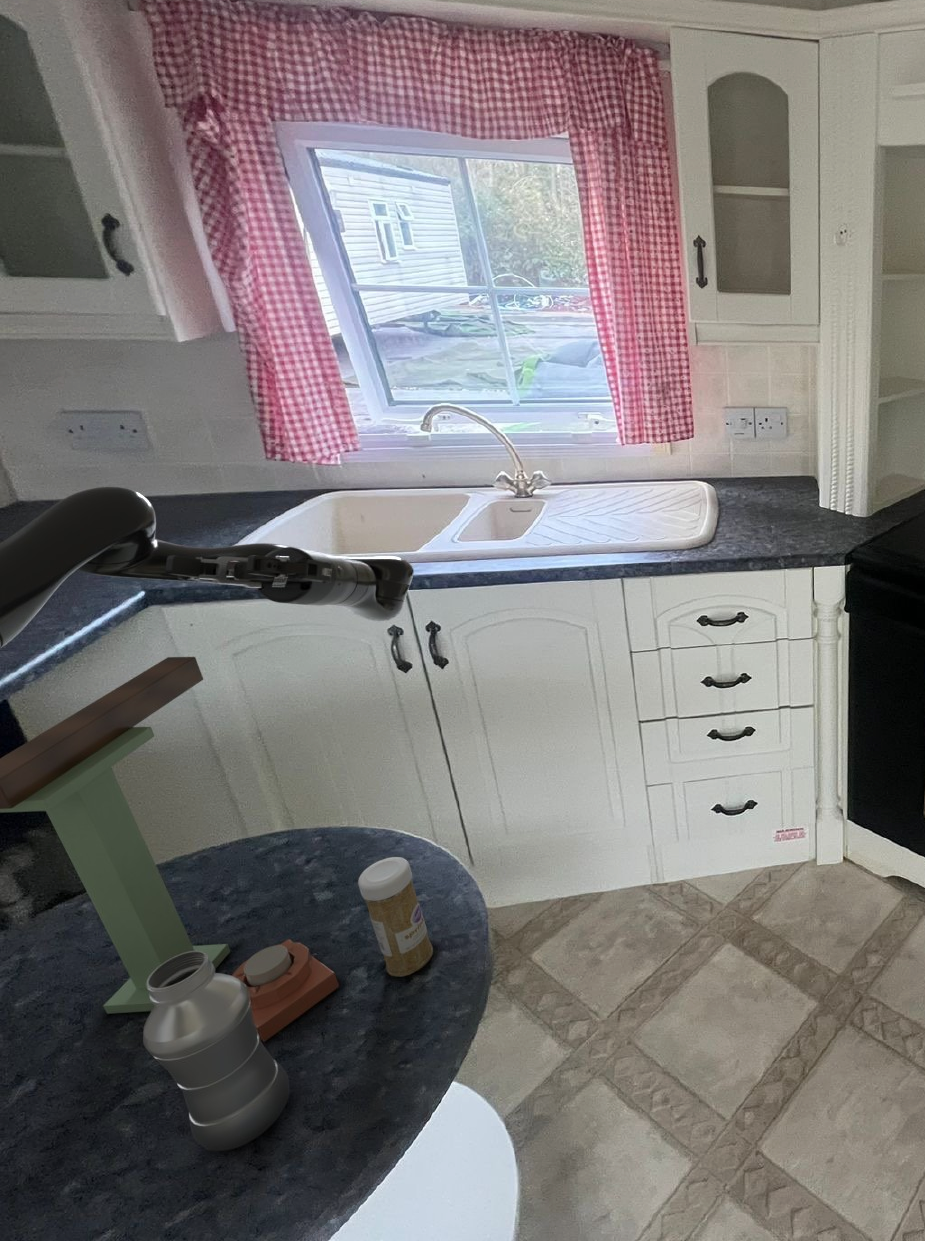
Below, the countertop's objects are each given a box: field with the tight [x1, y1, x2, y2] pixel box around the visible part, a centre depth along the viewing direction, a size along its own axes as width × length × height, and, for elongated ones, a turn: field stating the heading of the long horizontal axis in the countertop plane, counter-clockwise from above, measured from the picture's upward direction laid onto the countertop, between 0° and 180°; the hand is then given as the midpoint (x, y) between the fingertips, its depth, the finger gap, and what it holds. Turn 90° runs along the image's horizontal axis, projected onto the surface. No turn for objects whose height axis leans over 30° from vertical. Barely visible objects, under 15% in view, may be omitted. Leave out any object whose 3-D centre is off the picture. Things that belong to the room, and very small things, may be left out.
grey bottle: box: [142, 950, 291, 1152], centre depth 65 cm, size 6×7×20 cm
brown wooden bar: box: [0, 656, 204, 809], centre depth 73 cm, size 21×3×3 cm, turn 6°
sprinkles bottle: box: [357, 856, 434, 978], centre depth 82 cm, size 5×5×13 cm
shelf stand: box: [0, 726, 231, 1015], centre depth 75 cm, size 11×7×30 cm, turn 6°
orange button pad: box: [231, 938, 340, 1043], centre depth 79 cm, size 9×7×4 cm
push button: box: [243, 944, 292, 987], centre depth 78 cm, size 4×4×2 cm
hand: (209, 564), depth 86 cm, fingers open, 8 cm apart
